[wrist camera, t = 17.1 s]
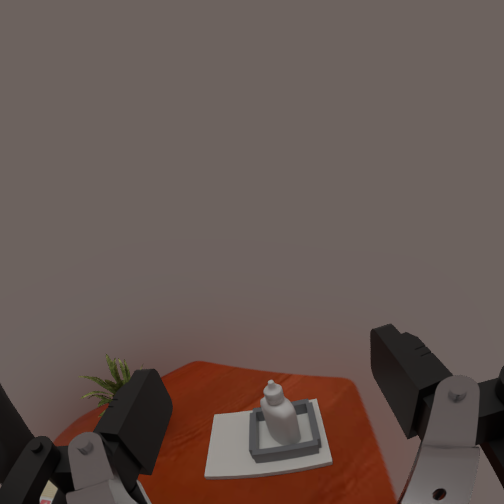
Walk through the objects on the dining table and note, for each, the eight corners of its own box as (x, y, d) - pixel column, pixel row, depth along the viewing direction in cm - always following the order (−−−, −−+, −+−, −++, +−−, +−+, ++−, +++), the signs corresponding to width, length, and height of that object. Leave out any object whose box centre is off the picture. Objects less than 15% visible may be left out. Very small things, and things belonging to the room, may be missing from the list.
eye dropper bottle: (294, 420, 38) (282, 365, 35) (303, 444, 33) (292, 390, 30) (267, 427, 38) (251, 373, 35) (274, 452, 32) (257, 400, 30)
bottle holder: (206, 479, 29) (198, 468, 29) (216, 418, 43) (210, 405, 42) (332, 464, 28) (331, 452, 28) (316, 402, 42) (315, 388, 41)
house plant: (104, 426, 42) (65, 362, 38) (157, 398, 51) (126, 334, 47) (128, 468, 31) (76, 400, 28) (192, 432, 40) (155, 360, 36)
